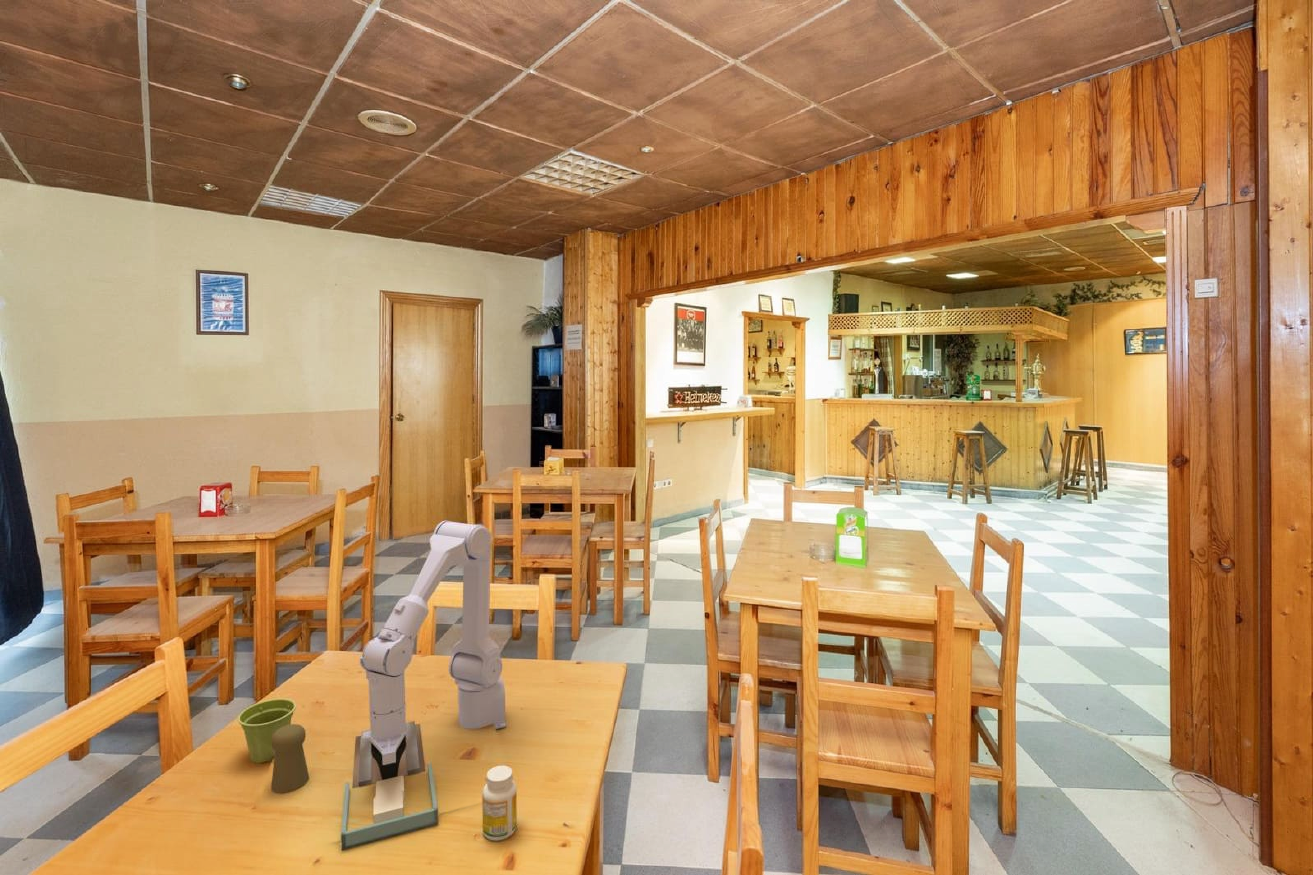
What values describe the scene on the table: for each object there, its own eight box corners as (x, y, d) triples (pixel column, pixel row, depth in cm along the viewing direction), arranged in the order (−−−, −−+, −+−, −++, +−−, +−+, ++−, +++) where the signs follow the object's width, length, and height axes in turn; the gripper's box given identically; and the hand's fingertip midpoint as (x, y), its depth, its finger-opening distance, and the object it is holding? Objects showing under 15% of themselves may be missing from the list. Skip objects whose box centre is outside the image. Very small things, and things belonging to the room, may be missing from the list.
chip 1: (403, 787, 108) (403, 775, 108) (404, 802, 104) (404, 790, 104) (376, 793, 106) (376, 781, 106) (376, 809, 102) (375, 797, 102)
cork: (292, 801, 104) (289, 740, 103) (261, 796, 105) (259, 736, 104) (318, 779, 110) (315, 721, 109) (289, 775, 111) (286, 717, 110)
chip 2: (402, 803, 104) (402, 790, 103) (403, 820, 100) (403, 807, 99) (374, 810, 102) (373, 797, 102) (373, 827, 98) (373, 814, 98)
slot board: (420, 728, 127) (419, 719, 127) (425, 776, 111) (425, 766, 111) (355, 741, 122) (355, 732, 122) (352, 793, 106) (352, 783, 106)
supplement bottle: (495, 847, 95) (494, 788, 94) (475, 830, 98) (474, 774, 97) (523, 828, 99) (523, 772, 98) (503, 813, 102) (503, 758, 101)
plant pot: (308, 747, 120) (306, 705, 119) (260, 775, 111) (258, 729, 111) (277, 735, 124) (276, 694, 123) (228, 761, 115) (226, 717, 114)
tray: (431, 776, 111) (431, 763, 111) (438, 824, 99) (437, 809, 99) (345, 796, 106) (345, 782, 105) (341, 850, 94) (341, 835, 93)
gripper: (363, 691, 111) (365, 762, 112) (361, 732, 98) (363, 812, 99) (404, 683, 114) (406, 752, 115) (408, 723, 101) (410, 800, 102)
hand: (389, 779), depth 108 cm, fingers closed
